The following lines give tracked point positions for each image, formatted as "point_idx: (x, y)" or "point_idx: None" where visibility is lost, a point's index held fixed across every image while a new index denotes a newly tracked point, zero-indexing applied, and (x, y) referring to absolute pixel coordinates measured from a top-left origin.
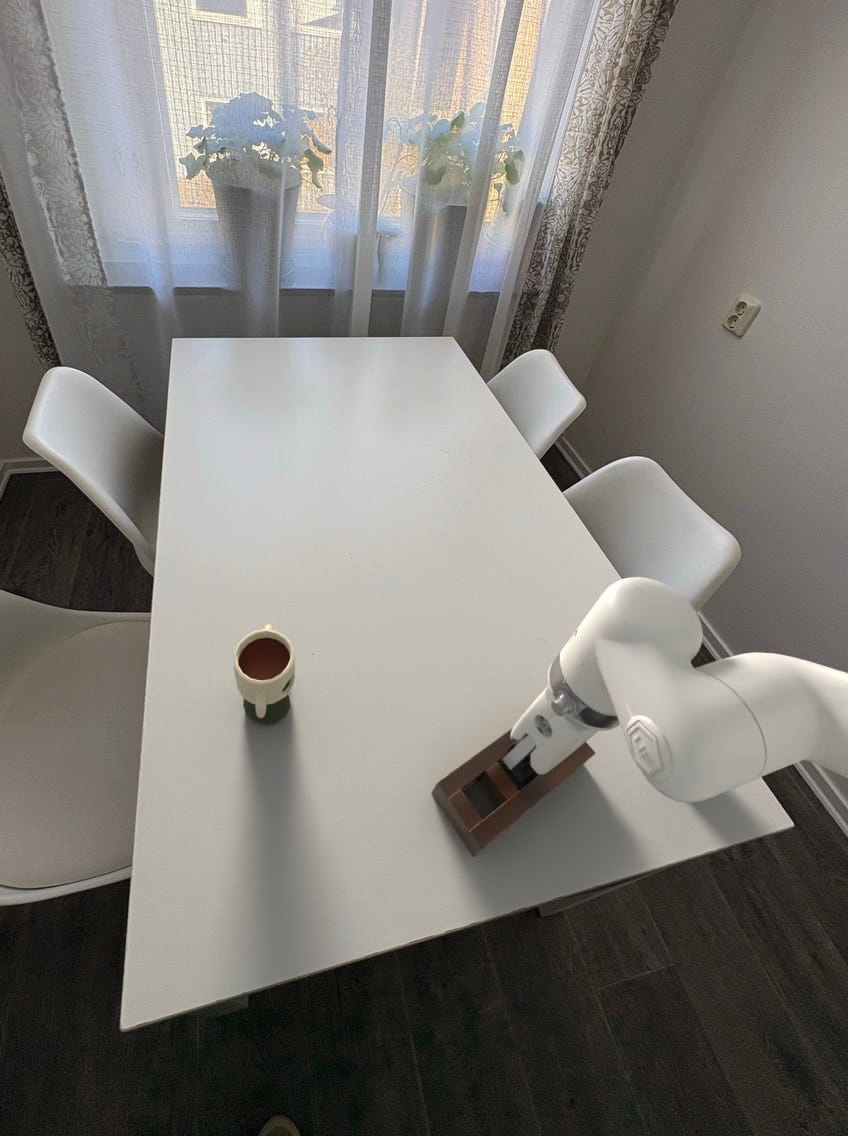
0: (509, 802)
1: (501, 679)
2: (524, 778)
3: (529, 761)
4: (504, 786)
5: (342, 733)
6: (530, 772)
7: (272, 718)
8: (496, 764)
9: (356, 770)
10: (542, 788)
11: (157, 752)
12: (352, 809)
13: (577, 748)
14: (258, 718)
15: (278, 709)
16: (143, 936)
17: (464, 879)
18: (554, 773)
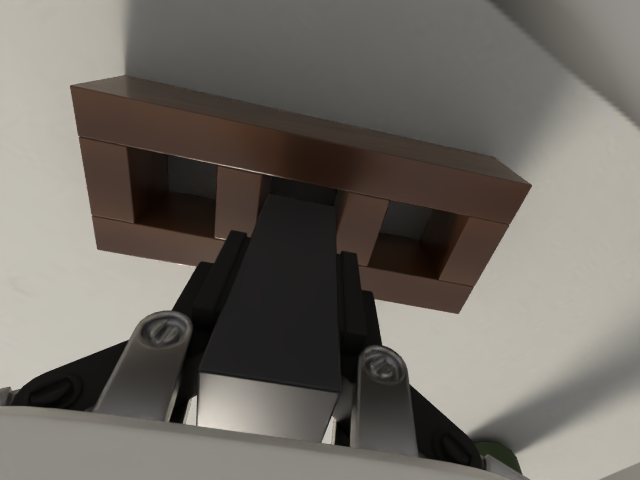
0: (390, 194)
1: (163, 297)
2: (331, 218)
3: (453, 457)
4: (365, 221)
5: (449, 391)
6: (359, 277)
7: (508, 460)
8: None
9: (484, 355)
10: (294, 151)
11: (600, 476)
12: (539, 330)
13: (197, 434)
14: (519, 468)
15: None
16: None
17: (542, 145)
18: (233, 148)
